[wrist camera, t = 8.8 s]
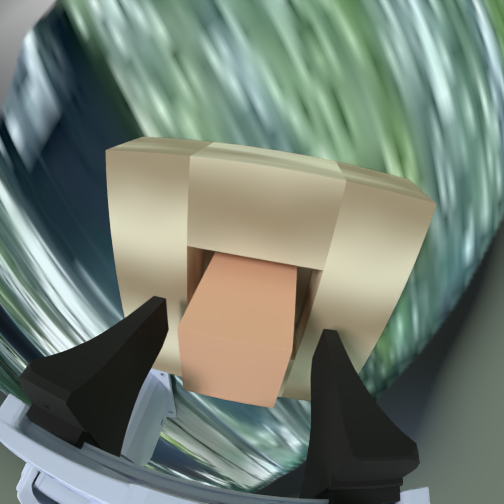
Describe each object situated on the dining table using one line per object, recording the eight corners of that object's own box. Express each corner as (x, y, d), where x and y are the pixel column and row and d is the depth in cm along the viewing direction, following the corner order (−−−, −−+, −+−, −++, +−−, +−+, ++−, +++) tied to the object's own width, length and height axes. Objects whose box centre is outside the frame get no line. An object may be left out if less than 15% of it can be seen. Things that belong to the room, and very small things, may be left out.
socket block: (337, 365, 20) (339, 403, 17) (153, 329, 21) (135, 363, 18) (409, 179, 13) (436, 204, 10) (142, 136, 14) (105, 150, 11)
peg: (285, 307, 18) (273, 408, 12) (219, 295, 18) (183, 389, 12) (297, 250, 16) (292, 350, 10) (223, 237, 16) (177, 328, 10)
